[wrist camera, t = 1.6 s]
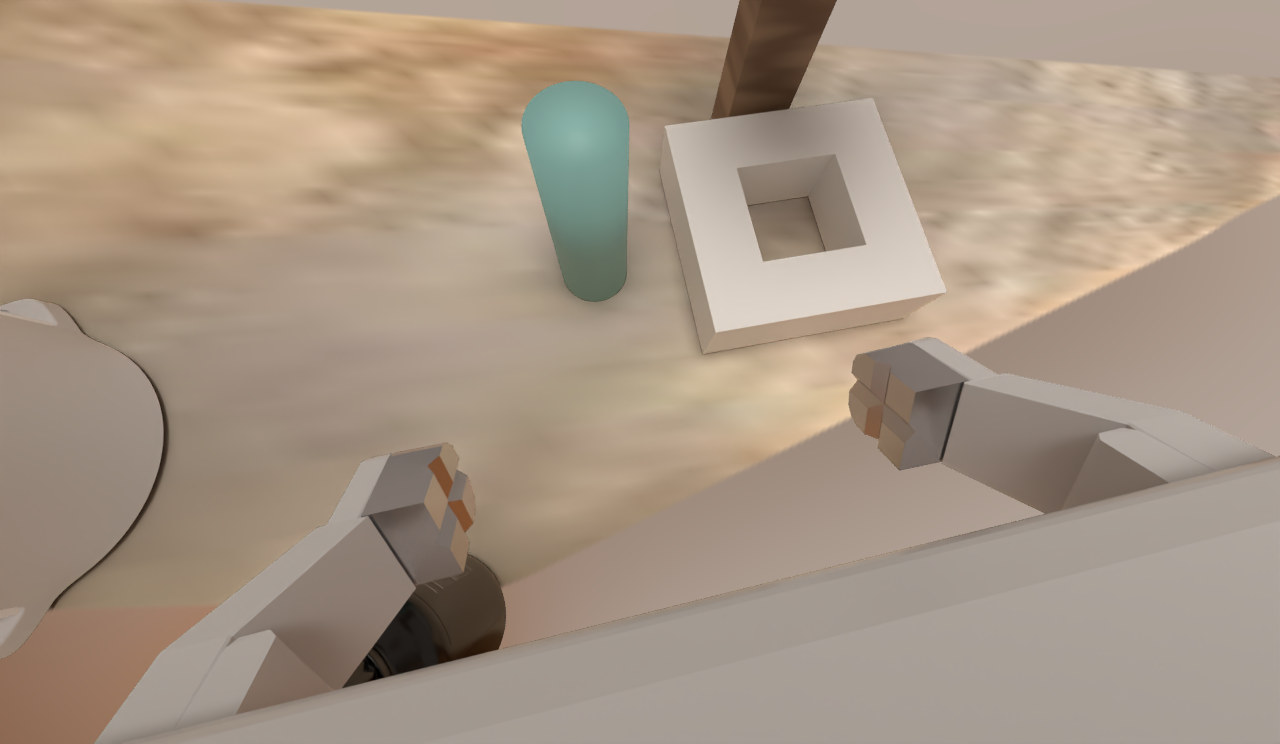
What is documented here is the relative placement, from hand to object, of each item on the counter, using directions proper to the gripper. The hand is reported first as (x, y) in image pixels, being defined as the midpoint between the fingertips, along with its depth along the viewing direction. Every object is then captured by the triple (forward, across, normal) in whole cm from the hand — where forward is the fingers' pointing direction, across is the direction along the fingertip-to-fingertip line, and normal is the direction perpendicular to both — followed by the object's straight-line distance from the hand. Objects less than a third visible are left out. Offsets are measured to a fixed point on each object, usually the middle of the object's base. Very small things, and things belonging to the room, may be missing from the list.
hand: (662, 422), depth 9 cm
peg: (+21, 0, +3) cm, 21 cm away
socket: (+21, -12, +4) cm, 24 cm away
